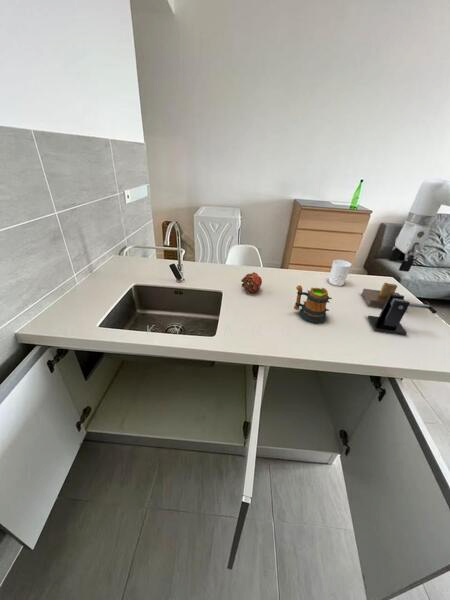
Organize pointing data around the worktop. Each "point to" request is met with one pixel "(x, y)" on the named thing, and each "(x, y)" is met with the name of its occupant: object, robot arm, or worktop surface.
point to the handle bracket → (390, 316)
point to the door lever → (418, 305)
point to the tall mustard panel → (387, 289)
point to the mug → (313, 304)
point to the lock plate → (374, 298)
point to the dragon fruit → (252, 282)
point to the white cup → (339, 272)
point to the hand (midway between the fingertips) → (397, 265)
